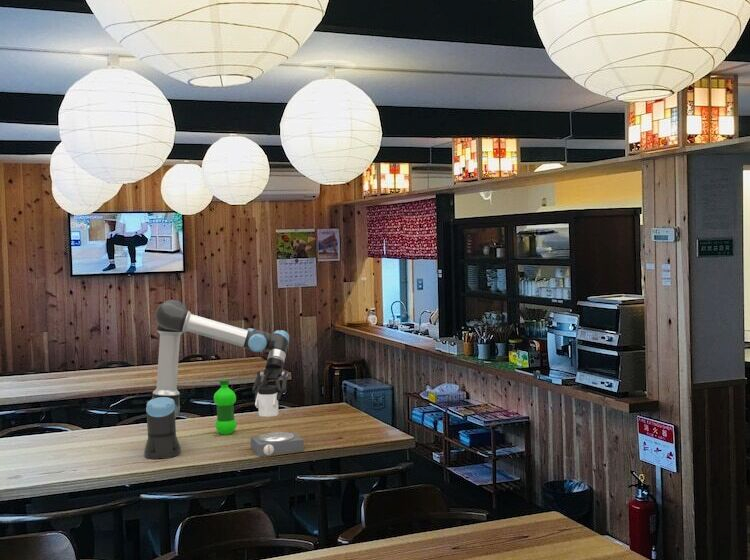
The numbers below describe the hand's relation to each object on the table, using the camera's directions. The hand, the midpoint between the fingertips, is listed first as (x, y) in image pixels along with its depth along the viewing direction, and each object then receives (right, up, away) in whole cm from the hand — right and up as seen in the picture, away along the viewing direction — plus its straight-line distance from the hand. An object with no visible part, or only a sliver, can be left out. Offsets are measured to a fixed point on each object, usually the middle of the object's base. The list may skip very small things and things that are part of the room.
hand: (265, 406), depth 342 cm
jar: (+1, -4, +4) cm, 6 cm away
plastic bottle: (-24, -19, +39) cm, 50 cm away
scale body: (+4, -20, +6) cm, 21 cm away
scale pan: (+4, -15, +6) cm, 16 cm away
